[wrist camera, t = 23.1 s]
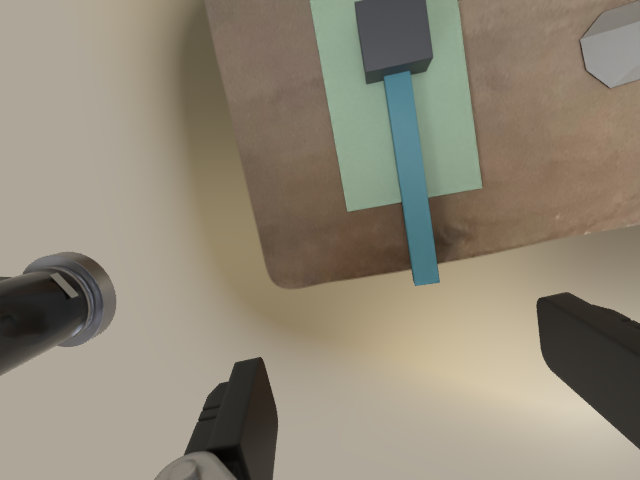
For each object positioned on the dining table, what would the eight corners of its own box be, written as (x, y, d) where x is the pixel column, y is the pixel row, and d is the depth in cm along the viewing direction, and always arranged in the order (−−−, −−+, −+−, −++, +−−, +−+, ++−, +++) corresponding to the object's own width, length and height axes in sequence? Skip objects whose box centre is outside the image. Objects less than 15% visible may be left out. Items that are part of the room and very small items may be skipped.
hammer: (453, 275, 43) (463, 288, 38) (396, 283, 44) (399, 296, 39) (416, -3, 39) (422, -29, 34) (354, 12, 40) (352, -11, 35)
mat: (481, 187, 42) (482, 187, 41) (347, 211, 44) (347, 211, 43) (451, -40, 39) (452, -43, 38) (309, -2, 41) (308, -5, 40)
